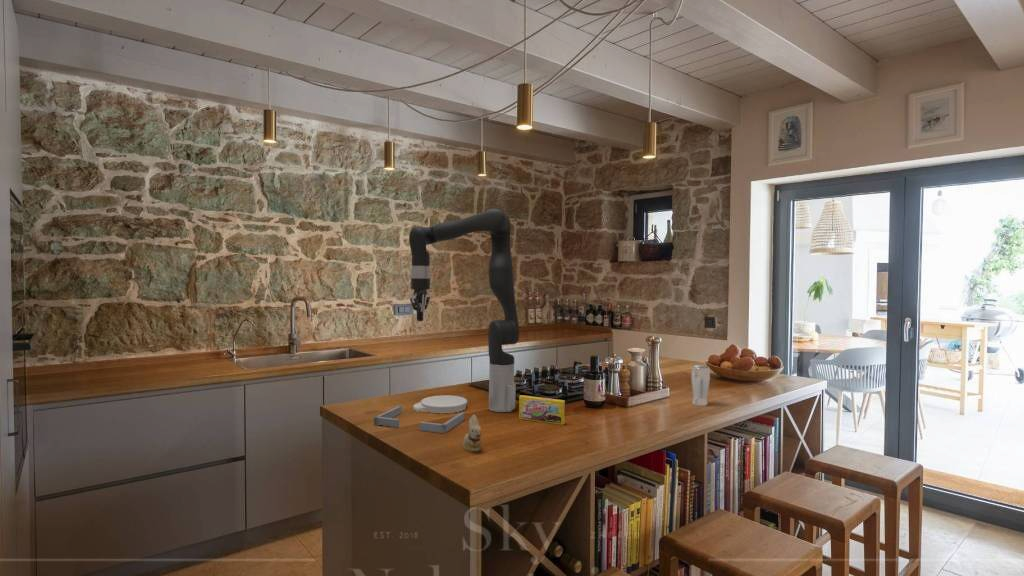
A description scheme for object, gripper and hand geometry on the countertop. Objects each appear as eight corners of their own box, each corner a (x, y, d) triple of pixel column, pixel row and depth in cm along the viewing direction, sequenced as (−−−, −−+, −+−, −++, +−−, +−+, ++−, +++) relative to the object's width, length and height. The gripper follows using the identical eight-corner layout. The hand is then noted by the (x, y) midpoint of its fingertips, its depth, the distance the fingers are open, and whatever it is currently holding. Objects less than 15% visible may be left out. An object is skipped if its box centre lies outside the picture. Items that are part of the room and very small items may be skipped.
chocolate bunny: (461, 452, 151) (461, 417, 151) (463, 443, 159) (464, 410, 159) (480, 453, 151) (481, 418, 151) (482, 444, 159) (482, 410, 159)
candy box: (518, 419, 186) (518, 396, 186) (520, 418, 188) (520, 394, 188) (562, 425, 180) (563, 401, 180) (564, 423, 182) (565, 399, 182)
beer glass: (710, 403, 213) (711, 366, 212) (706, 407, 207) (707, 369, 206) (692, 401, 217) (693, 364, 216) (688, 404, 211) (689, 367, 210)
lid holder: (464, 419, 184) (464, 412, 184) (444, 433, 168) (444, 425, 168) (398, 412, 192) (398, 405, 191) (374, 424, 176) (374, 417, 176)
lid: (412, 403, 206) (412, 396, 206) (464, 402, 210) (464, 394, 210) (413, 416, 189) (413, 407, 189) (469, 414, 193) (470, 405, 193)
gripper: (421, 277, 204) (420, 322, 205) (436, 277, 217) (435, 320, 218) (403, 277, 207) (403, 322, 207) (419, 277, 219) (419, 319, 220)
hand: (420, 320), depth 212 cm, fingers closed
